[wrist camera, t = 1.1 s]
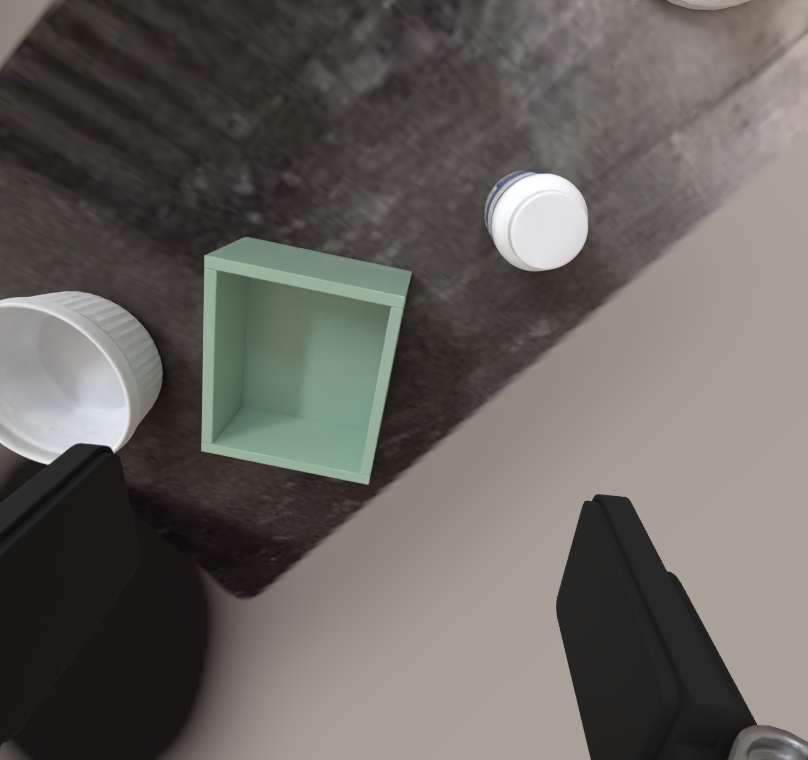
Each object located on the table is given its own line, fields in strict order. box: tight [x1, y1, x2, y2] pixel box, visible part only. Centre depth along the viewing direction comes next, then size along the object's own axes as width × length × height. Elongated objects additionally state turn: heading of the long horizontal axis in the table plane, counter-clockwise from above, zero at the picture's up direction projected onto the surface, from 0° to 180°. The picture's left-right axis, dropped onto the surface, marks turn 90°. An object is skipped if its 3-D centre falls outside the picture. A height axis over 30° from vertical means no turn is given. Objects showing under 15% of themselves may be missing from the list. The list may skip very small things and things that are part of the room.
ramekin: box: [0, 291, 163, 465], centre depth 39 cm, size 13×13×7 cm
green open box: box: [201, 237, 412, 485], centre depth 37 cm, size 15×13×7 cm
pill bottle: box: [484, 170, 588, 271], centre depth 30 cm, size 5×5×10 cm
